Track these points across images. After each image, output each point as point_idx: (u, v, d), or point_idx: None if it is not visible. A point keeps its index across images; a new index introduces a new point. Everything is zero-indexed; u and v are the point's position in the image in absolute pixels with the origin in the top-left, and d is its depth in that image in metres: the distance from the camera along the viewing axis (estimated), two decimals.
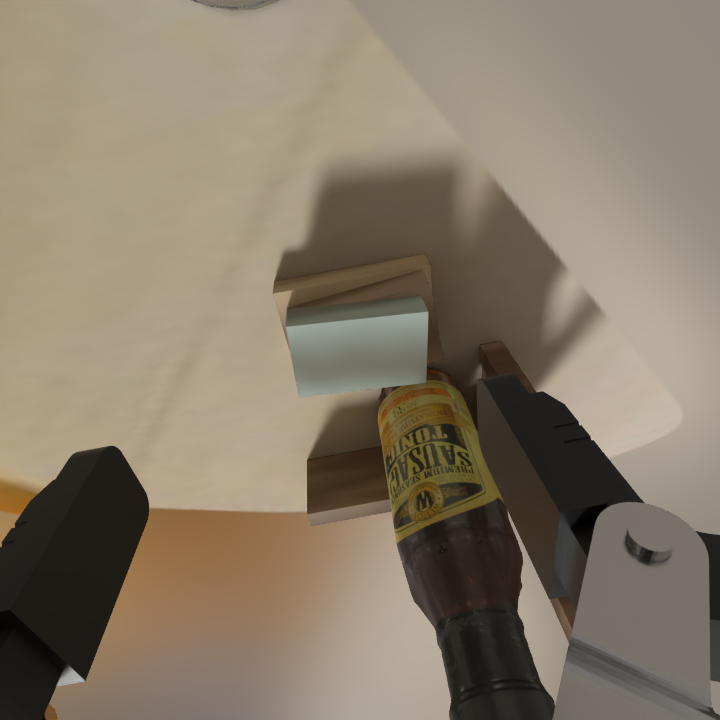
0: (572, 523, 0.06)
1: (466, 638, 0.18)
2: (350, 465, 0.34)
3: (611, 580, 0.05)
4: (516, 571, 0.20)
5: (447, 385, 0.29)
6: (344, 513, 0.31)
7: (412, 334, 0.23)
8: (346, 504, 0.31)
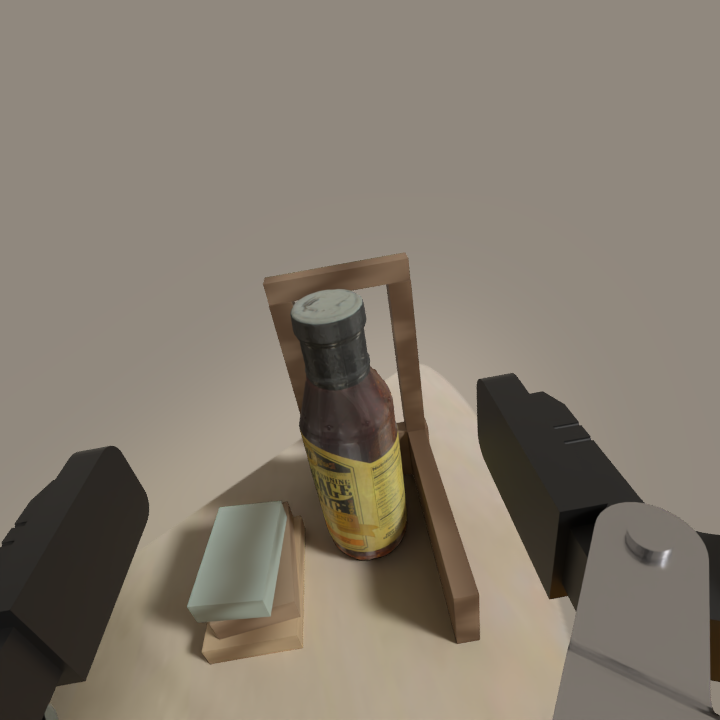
0: (572, 523, 0.06)
1: (307, 366, 0.25)
2: (442, 578, 0.29)
3: (611, 580, 0.05)
4: None
5: None
6: (453, 555, 0.26)
7: (233, 514, 0.31)
8: (441, 555, 0.27)
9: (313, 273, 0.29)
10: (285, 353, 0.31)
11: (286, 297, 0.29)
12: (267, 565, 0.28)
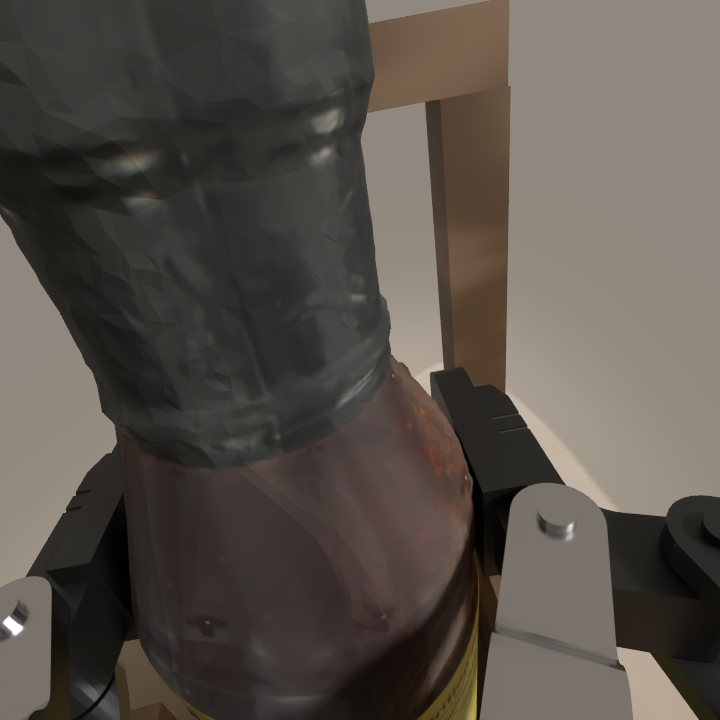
0: (496, 503, 0.07)
1: None
2: None
3: (517, 551, 0.06)
4: None
5: None
6: None
7: None
8: None
9: None
10: None
11: None
12: None
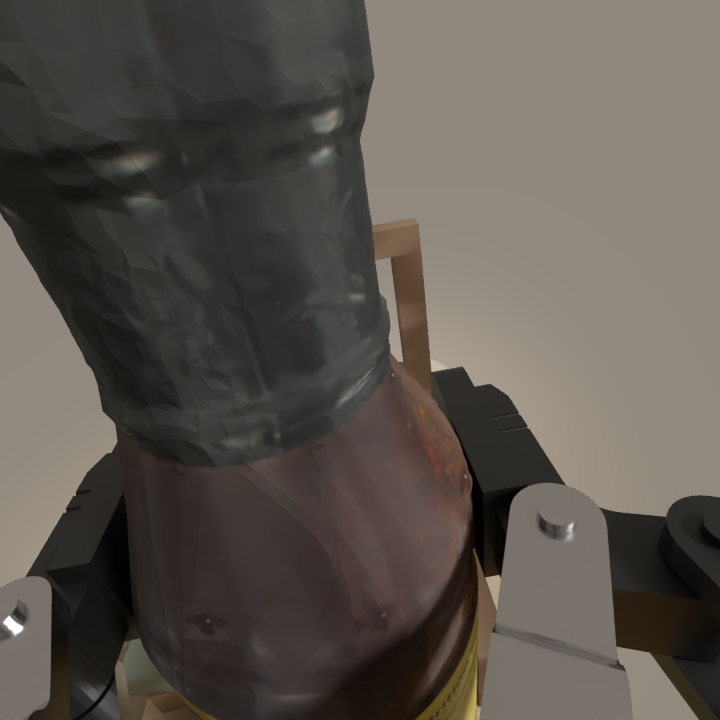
0: (496, 503, 0.07)
1: None
2: None
3: (517, 551, 0.06)
4: None
5: None
6: None
7: None
8: None
9: None
10: None
11: None
12: None
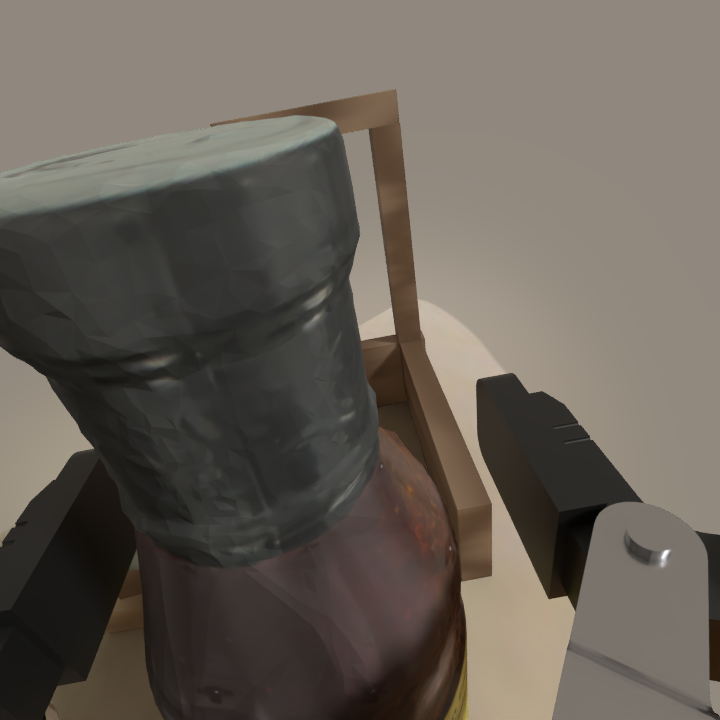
0: (571, 523, 0.06)
1: None
2: None
3: (610, 580, 0.05)
4: None
5: None
6: (455, 462, 0.20)
7: None
8: (440, 464, 0.20)
9: None
10: None
11: None
12: None
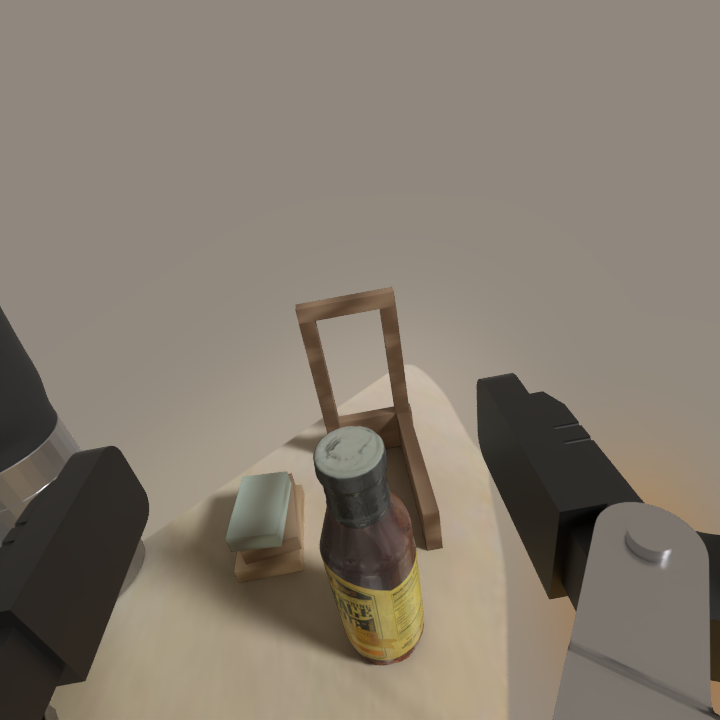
0: (572, 523, 0.06)
1: (329, 503, 0.25)
2: (418, 510, 0.42)
3: (611, 580, 0.05)
4: None
5: None
6: (423, 490, 0.40)
7: (252, 481, 0.44)
8: (416, 491, 0.40)
9: (329, 302, 0.42)
10: (309, 356, 0.45)
11: (310, 318, 0.43)
12: (279, 512, 0.40)
